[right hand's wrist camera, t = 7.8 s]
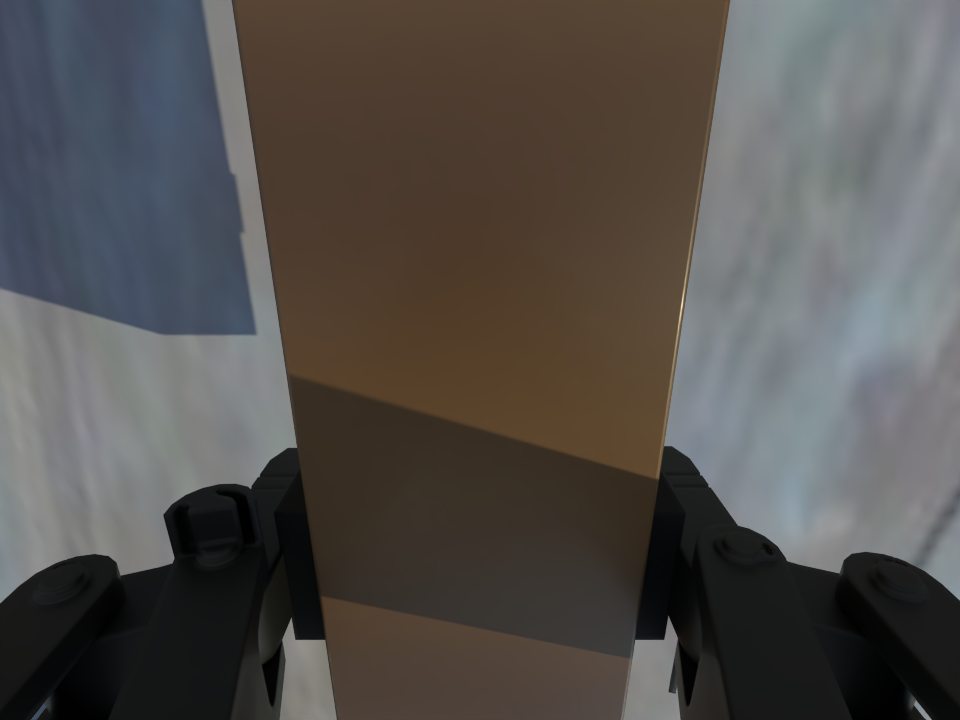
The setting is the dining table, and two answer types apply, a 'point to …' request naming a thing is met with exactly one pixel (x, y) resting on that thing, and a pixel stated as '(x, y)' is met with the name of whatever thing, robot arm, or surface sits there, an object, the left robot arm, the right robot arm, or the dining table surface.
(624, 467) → the bar
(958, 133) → the dining table surface
